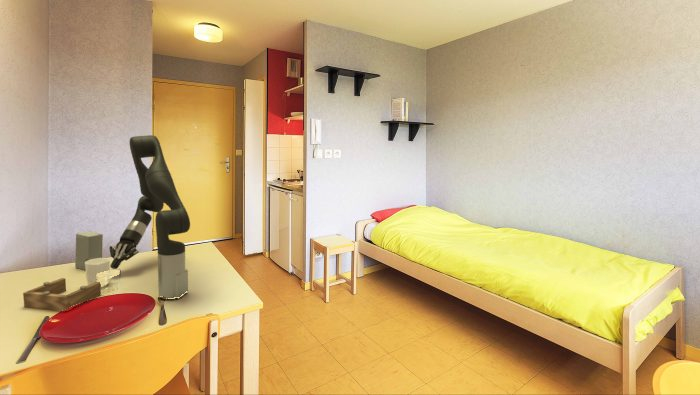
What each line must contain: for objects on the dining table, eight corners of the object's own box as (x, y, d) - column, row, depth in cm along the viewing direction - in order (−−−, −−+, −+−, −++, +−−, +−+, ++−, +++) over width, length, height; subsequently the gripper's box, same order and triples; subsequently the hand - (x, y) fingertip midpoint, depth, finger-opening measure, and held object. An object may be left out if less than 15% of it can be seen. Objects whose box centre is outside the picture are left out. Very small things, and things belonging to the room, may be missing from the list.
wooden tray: (101, 294, 127) (100, 280, 126) (66, 311, 113) (65, 295, 113) (62, 290, 129) (61, 276, 128) (24, 306, 115) (22, 290, 114)
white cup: (81, 285, 134) (80, 261, 132) (104, 279, 140) (103, 256, 139) (92, 290, 130) (91, 265, 128) (114, 284, 137) (113, 260, 135)
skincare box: (74, 268, 151) (72, 233, 149) (91, 263, 157) (89, 230, 155) (88, 271, 148) (86, 236, 146) (104, 266, 155) (103, 232, 153)
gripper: (115, 227, 150) (93, 262, 140) (143, 229, 149) (122, 265, 138) (125, 236, 156) (104, 270, 146) (151, 238, 155) (132, 273, 144)
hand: (113, 268), depth 142 cm, fingers closed
